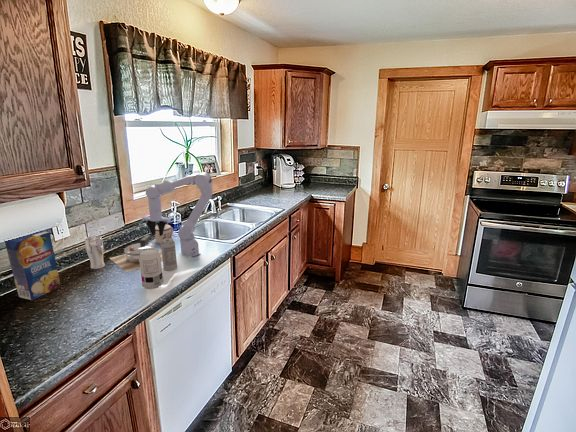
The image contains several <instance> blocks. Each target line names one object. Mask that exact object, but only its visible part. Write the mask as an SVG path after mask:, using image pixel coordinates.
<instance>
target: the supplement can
mask: <svg viewBox="0 0 576 432" xmlns="http://www.w3.org/2000/svg"><path fill="white" fill-rule="evenodd" d="M158 250H159V249H158ZM158 250H157V248H156V249H146V250H143V251H141V252H140V255H139V263H140V268H139V270H140V278H141V283H142V284H141V285H142V287H143V288H145V289H146V290H147V289H149V290H151V289H157V288H159V287H161V286H162V284H163V283H164V277H163V268H162V262H161V258H160V253H159V252H158Z"/></svg>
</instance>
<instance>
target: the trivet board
mask: <svg viewBox="0 0 576 432" xmlns="http://www.w3.org/2000/svg"><path fill="white" fill-rule="evenodd" d="M154 249H157V248H156V247H154ZM157 250H158V252H159V253H160V258H161V263H163V259H162V250H161V251H160V249H157ZM109 259H110V260H111V261H112V262H114V263H115V264H116V265H117V266H118V267H120V268H121V269H122V270H123V271H124V272H126V273H128V272H132V271H135V270H138V269H139V270H140V263H139V264H132V263H128V262H127V261H126V254H125V253H123V254H121V255H117V256H113V257H109Z"/></svg>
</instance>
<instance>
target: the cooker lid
mask: <svg viewBox="0 0 576 432" xmlns="http://www.w3.org/2000/svg"><path fill="white" fill-rule="evenodd" d="M151 240H152V234H145V235H144V236H143V237H142V238H141V239H140V240H139V243H134V244H130V245H127V246H126V247H125V248H124V249H123V251H124V254H125V253H126V254H128V255H140V252H141V251H143V250H146V249H154V248H155V244H154V243H150V241H151Z"/></svg>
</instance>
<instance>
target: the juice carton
mask: <svg viewBox="0 0 576 432" xmlns="http://www.w3.org/2000/svg"><path fill="white" fill-rule="evenodd" d="M39 231H40V232H36V233H33V234H30V235H27V236H23V237H19V238H16V239H12V240H8V241H5V240H4V244H5V248H6V252H7V256H8V260H9V263H10V267H11V271H12V276H13V279H14V284H15V288H16V292H17V297H18V298H21V299H25V300H30V301H34V300H36V299H37V298H40V297H42V296H44V295H46V294H47V293H48V294H49V293H50V292H52V291H54V290H56V289H58V288H61V287H62V284H61V280H60V275H59V271H58V266H57V262H56V256H55V251H54V246H53V242H52V237H51V232H50V231H46V230H45V231H44V230H39Z"/></svg>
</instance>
